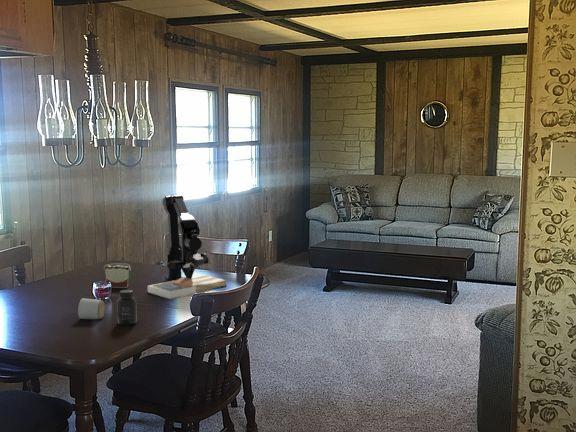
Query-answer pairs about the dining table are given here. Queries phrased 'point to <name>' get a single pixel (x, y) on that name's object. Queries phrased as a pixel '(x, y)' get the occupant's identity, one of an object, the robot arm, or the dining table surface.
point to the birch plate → (207, 283)
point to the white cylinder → (91, 309)
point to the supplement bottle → (127, 308)
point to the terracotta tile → (183, 282)
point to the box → (158, 291)
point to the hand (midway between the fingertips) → (189, 281)
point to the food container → (117, 274)
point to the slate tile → (171, 287)
